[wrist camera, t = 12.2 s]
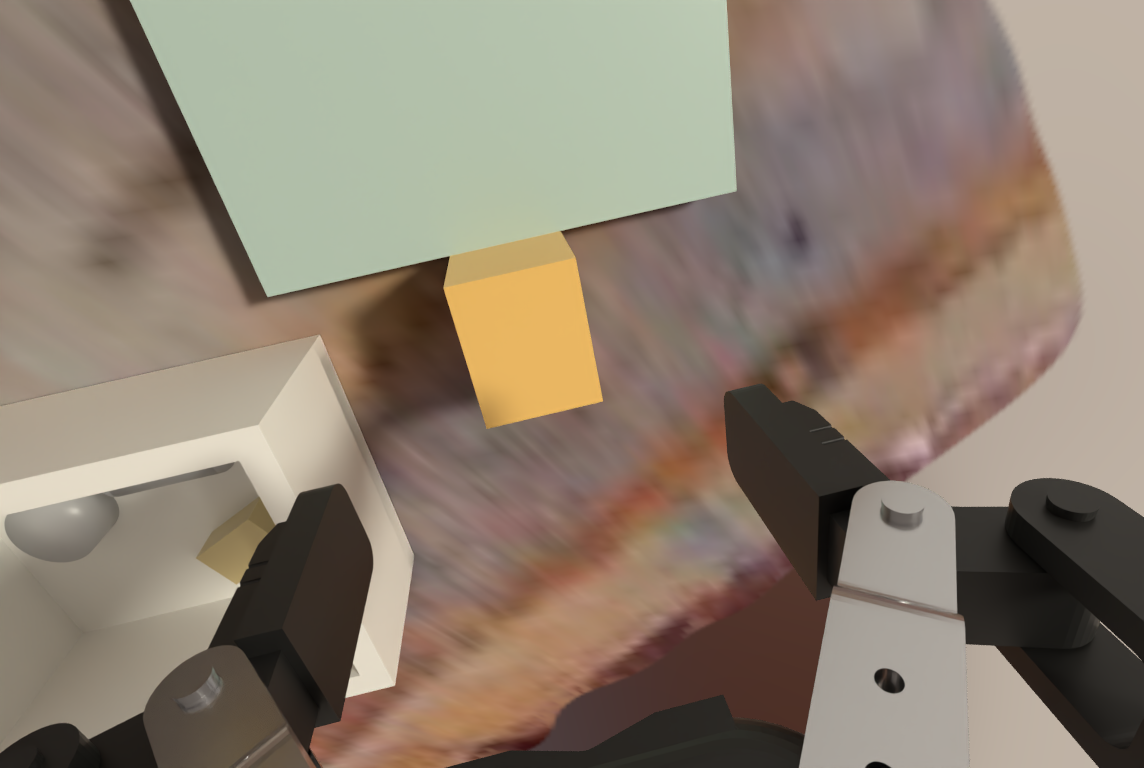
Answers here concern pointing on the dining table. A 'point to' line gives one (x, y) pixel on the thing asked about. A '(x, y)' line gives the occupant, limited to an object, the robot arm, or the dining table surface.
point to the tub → (169, 526)
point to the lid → (454, 150)
